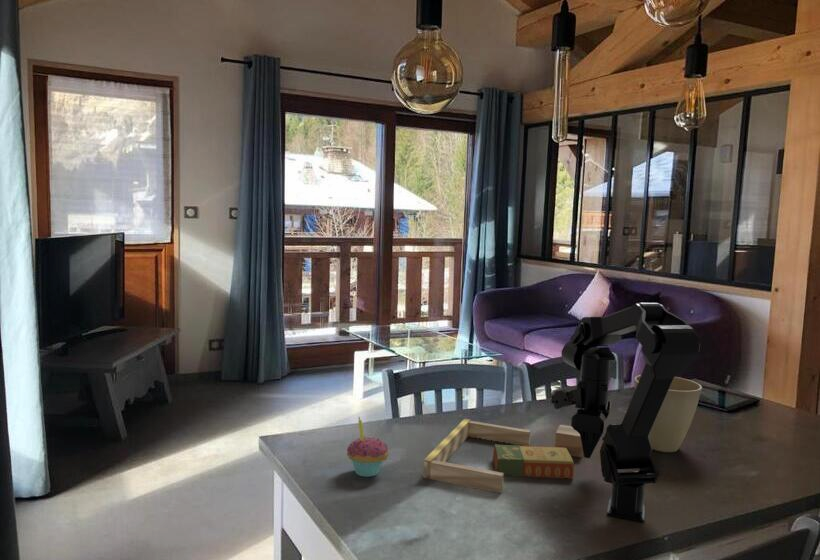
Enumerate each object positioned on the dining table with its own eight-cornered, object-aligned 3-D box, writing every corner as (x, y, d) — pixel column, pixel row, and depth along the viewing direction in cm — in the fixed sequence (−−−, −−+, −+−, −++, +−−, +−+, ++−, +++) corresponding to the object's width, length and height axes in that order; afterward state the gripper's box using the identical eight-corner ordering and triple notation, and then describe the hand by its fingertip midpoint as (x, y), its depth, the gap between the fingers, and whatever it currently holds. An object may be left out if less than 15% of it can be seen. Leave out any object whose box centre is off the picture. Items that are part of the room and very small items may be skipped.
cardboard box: (581, 458, 149) (582, 436, 148) (554, 453, 151) (556, 432, 151) (584, 449, 155) (585, 428, 154) (558, 444, 157) (559, 424, 156)
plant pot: (698, 462, 148) (704, 394, 147) (629, 452, 153) (634, 385, 151) (693, 441, 162) (698, 378, 161) (629, 432, 167) (634, 371, 165)
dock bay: (500, 493, 129) (502, 474, 128) (423, 477, 135) (423, 459, 134) (529, 444, 156) (530, 429, 155) (463, 433, 162) (464, 418, 161)
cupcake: (350, 482, 131) (351, 423, 130) (343, 465, 139) (344, 410, 138) (392, 478, 134) (394, 421, 132) (382, 462, 142) (384, 408, 140)
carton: (573, 481, 137) (574, 461, 136) (495, 477, 137) (496, 457, 137) (565, 464, 145) (566, 446, 145) (492, 461, 146) (493, 442, 145)
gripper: (561, 363, 147) (557, 430, 149) (547, 382, 130) (542, 459, 131) (613, 369, 143) (608, 438, 145) (606, 390, 126) (600, 468, 127)
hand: (589, 450), depth 137 cm, fingers open, 9 cm apart
